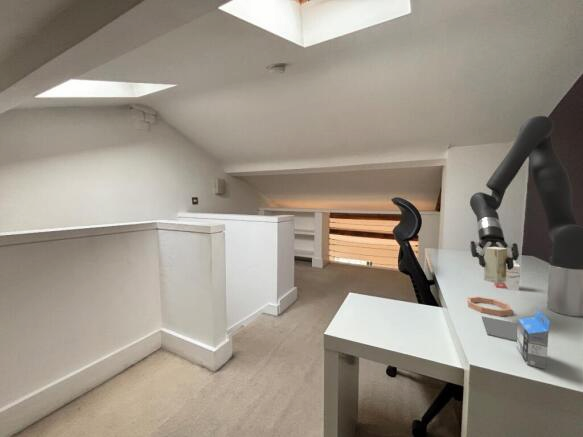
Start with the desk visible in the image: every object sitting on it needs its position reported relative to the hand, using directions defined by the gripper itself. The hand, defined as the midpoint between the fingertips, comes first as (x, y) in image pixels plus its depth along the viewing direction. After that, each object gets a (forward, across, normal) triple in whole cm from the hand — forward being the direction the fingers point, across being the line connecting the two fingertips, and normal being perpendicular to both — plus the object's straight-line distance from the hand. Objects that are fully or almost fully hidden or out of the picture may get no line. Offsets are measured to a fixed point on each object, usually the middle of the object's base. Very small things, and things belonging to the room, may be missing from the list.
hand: (496, 267), depth 86 cm
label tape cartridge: (+31, +2, -5) cm, 32 cm away
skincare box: (+3, 0, +5) cm, 6 cm away
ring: (+7, -1, +18) cm, 20 cm away
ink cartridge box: (-16, +13, +43) cm, 48 cm away
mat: (+20, +1, +5) cm, 21 cm away
